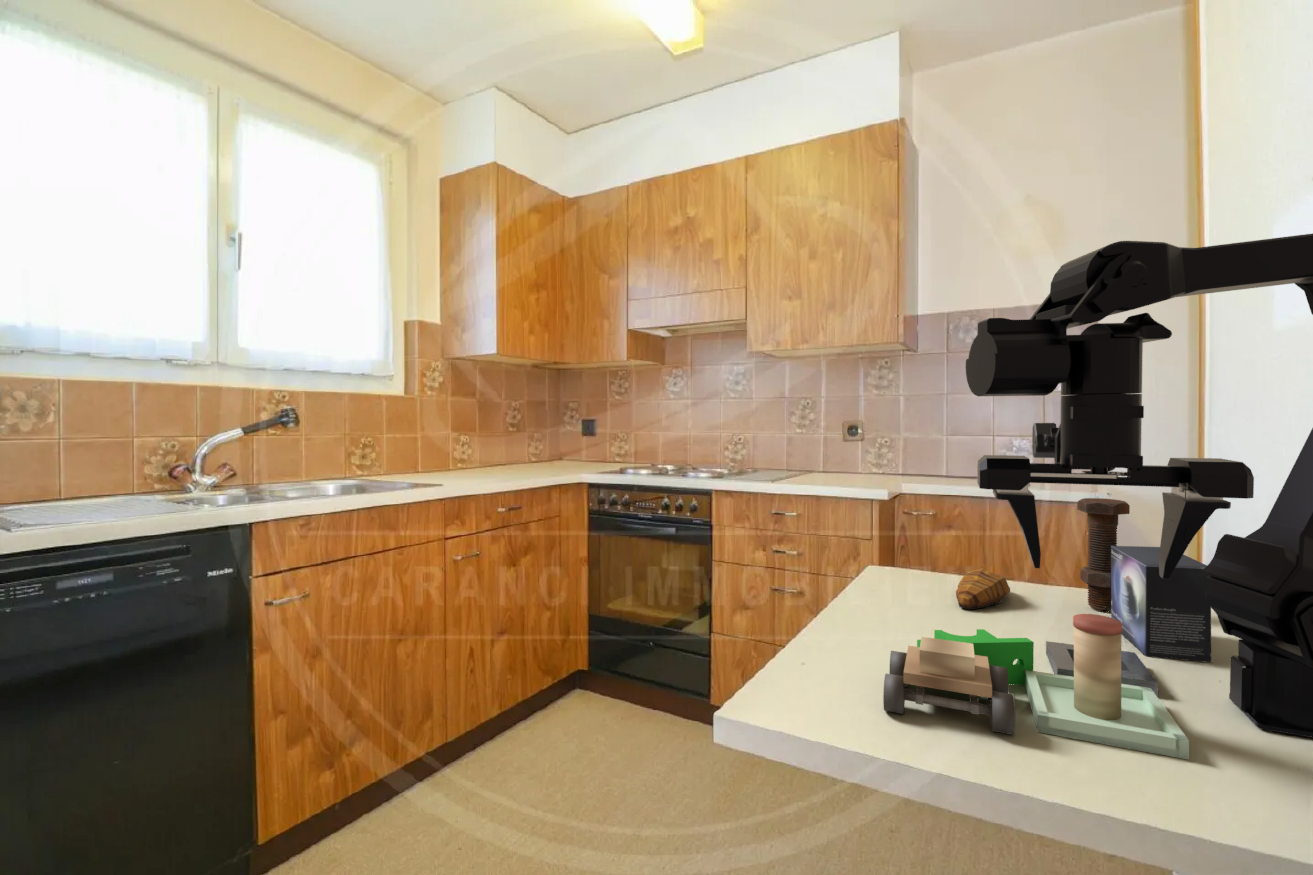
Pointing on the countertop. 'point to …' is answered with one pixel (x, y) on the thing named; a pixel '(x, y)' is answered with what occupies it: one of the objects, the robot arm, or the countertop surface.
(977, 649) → the pipe clamp
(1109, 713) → the pin
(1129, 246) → the robot arm
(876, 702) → the countertop surface
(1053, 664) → the socket
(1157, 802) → the countertop surface
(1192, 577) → the small box
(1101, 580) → the bolt
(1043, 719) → the tray
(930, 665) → the toy car
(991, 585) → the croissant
